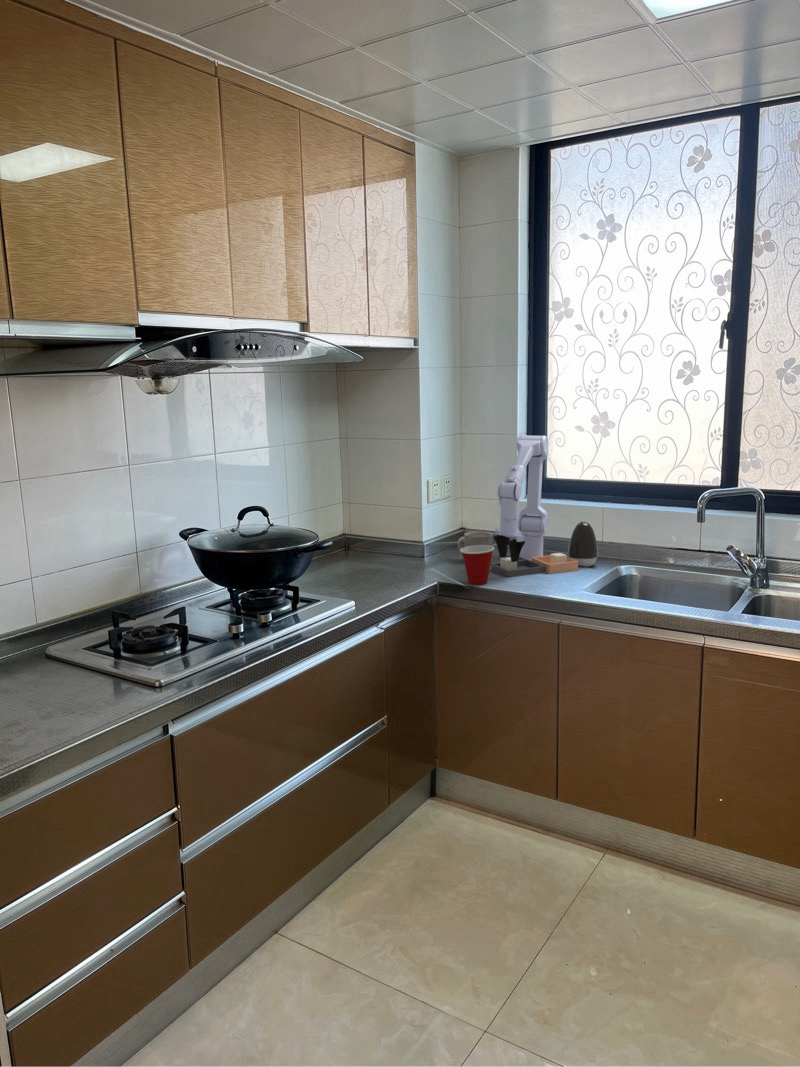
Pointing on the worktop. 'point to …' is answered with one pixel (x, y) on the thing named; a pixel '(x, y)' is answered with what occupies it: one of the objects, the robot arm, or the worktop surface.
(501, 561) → the stone
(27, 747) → the worktop surface
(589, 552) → the dark grey rounded dome
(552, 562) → the stone
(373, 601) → the worktop surface
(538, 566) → the parts tray
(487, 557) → the plastic cup
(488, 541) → the coffee mug
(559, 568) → the terracotta dish
